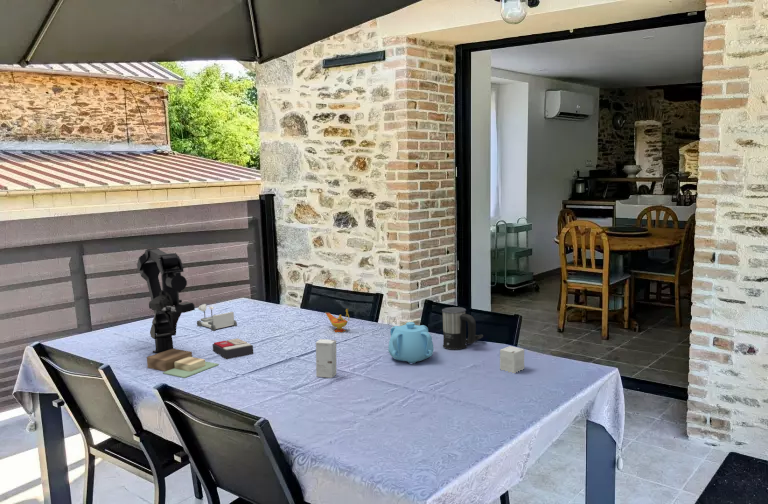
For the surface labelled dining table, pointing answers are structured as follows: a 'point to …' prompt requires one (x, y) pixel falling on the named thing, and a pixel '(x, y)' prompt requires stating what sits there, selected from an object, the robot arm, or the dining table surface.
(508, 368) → the skincare box
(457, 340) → the milk frother
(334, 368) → the white miniature cabinet
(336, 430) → the dining table surface
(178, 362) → the birch tile
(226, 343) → the calculator
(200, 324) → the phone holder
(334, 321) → the magic lamp
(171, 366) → the brown wooden block
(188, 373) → the mat
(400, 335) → the decorative pot
